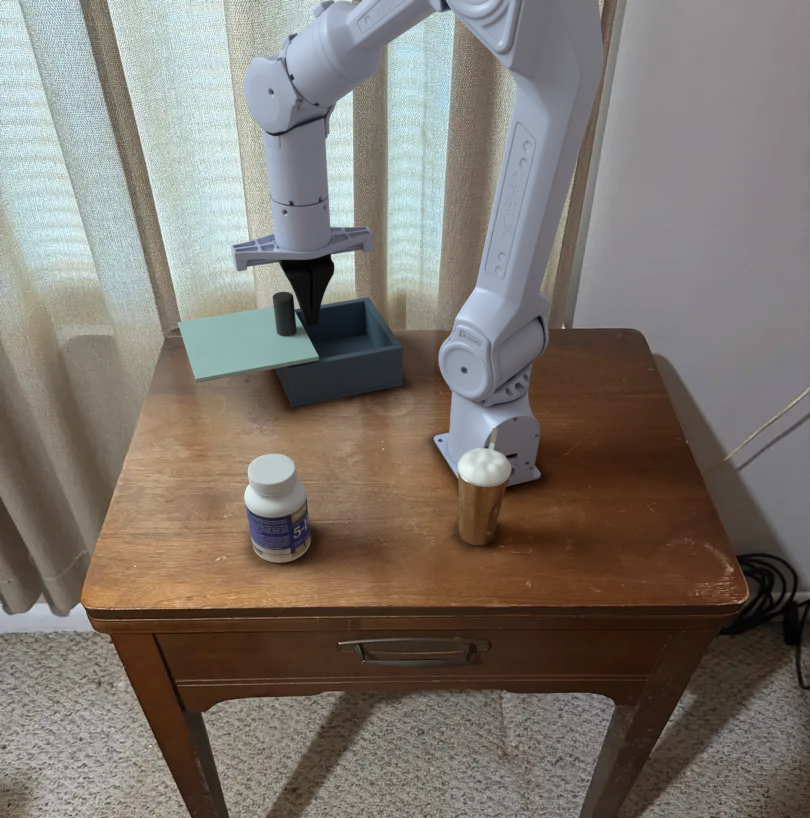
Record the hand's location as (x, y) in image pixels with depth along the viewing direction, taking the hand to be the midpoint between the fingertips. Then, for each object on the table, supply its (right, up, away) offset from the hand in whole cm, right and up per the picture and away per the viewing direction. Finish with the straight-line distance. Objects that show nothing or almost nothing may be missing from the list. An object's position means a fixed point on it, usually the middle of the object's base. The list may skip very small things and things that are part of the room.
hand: (309, 320), depth 84 cm
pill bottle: (-1, -25, -15) cm, 29 cm away
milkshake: (+17, -24, -13) cm, 32 cm away
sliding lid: (-7, -3, -1) cm, 7 cm away
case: (+2, -4, +5) cm, 7 cm away
